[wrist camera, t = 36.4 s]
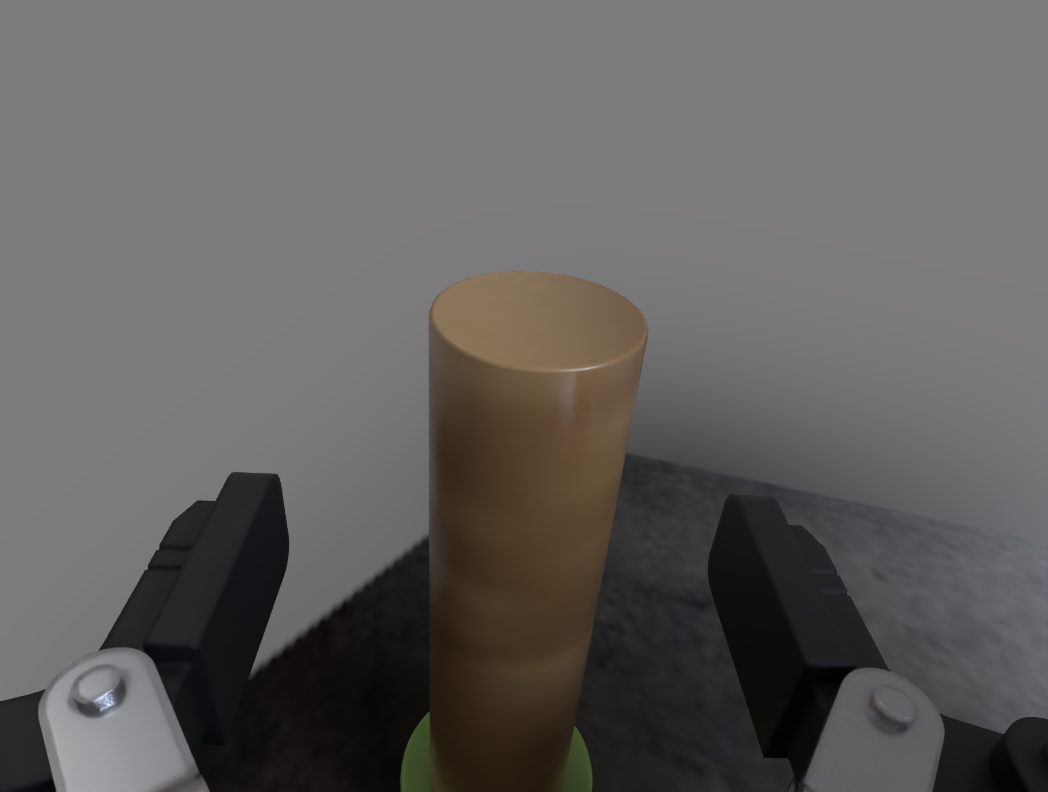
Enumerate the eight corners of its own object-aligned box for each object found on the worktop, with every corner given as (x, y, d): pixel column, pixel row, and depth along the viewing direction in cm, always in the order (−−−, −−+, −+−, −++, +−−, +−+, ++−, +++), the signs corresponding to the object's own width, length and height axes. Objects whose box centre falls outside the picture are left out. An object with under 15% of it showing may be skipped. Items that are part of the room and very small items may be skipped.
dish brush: (380, 913, 14) (331, 372, 7) (426, 732, 18) (422, 240, 11) (573, 947, 14) (714, 420, 7) (583, 756, 18) (685, 270, 11)
